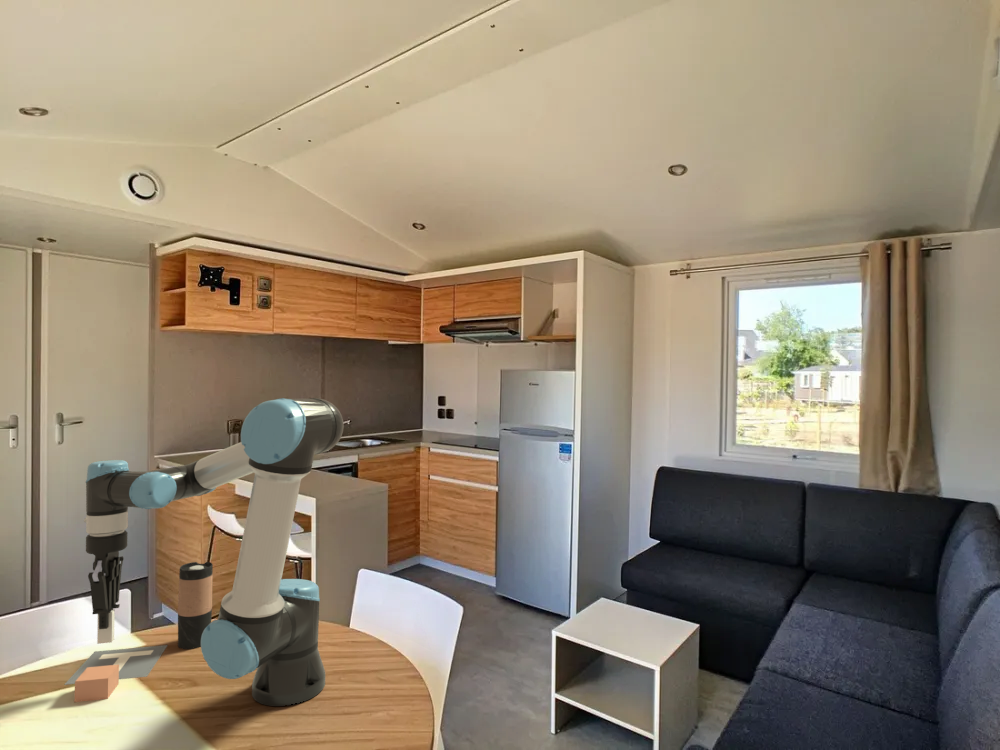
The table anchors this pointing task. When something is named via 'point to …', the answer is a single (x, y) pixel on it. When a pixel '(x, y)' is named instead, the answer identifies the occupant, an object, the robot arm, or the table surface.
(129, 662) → the letter mat
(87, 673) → the terracotta block
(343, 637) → the table surface
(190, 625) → the travel mug
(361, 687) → the table surface
